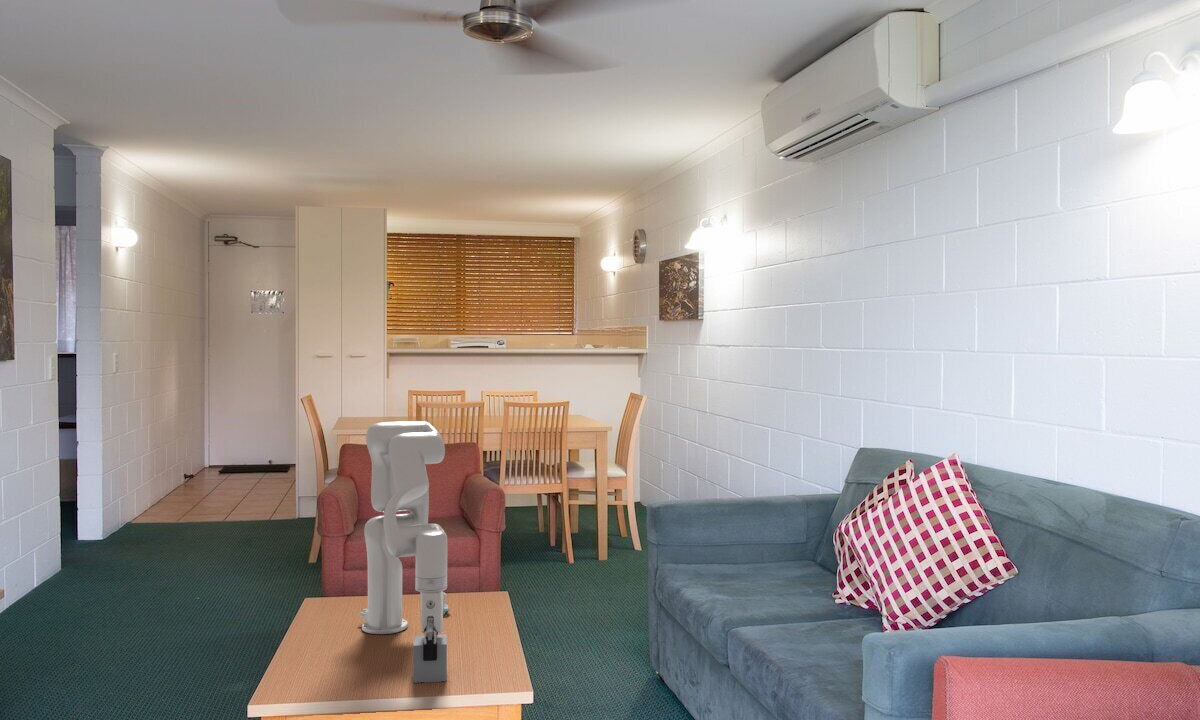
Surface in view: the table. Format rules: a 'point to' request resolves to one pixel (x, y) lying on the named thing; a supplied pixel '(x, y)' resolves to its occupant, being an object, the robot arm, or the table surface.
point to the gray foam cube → (430, 669)
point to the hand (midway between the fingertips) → (430, 653)
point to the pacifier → (445, 608)
